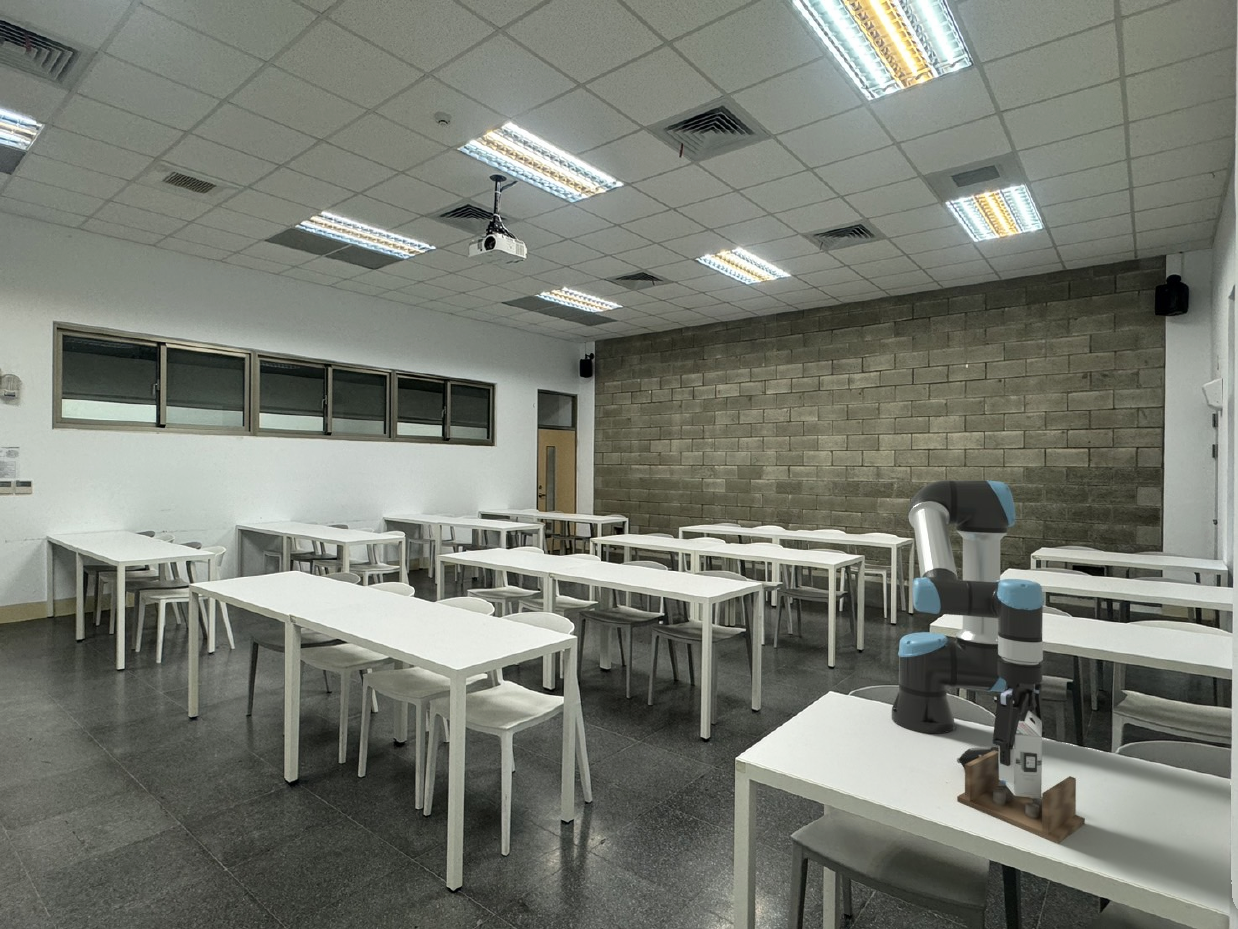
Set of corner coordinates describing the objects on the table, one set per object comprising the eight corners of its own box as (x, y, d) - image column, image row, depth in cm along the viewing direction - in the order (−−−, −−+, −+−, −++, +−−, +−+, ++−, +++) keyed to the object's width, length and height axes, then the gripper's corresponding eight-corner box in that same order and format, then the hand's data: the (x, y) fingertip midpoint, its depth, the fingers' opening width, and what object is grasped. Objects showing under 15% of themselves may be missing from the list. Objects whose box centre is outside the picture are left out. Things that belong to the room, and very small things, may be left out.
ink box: (997, 776, 132) (997, 703, 132) (1024, 778, 131) (1024, 705, 131) (1014, 796, 123) (1014, 718, 124) (1042, 799, 122) (1043, 721, 123)
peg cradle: (986, 785, 138) (986, 747, 138) (1084, 823, 123) (1084, 781, 123) (957, 801, 131) (957, 761, 131) (1057, 843, 116) (1057, 799, 116)
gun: (980, 787, 146) (954, 746, 148) (1049, 787, 133) (1019, 741, 134) (975, 795, 144) (948, 753, 146) (1043, 795, 131) (1013, 749, 133)
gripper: (1024, 647, 137) (1024, 754, 136) (972, 663, 124) (971, 781, 124) (1064, 655, 131) (1064, 767, 130) (1014, 673, 118) (1013, 797, 118)
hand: (1019, 774), depth 127 cm, fingers closed on ink box, 9 cm apart
